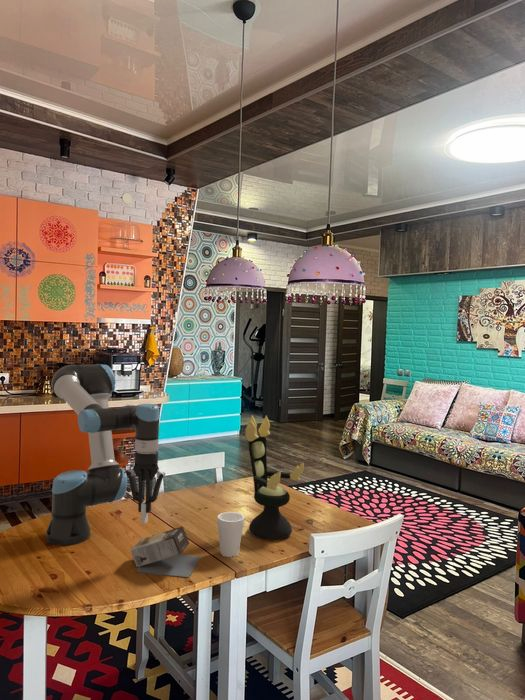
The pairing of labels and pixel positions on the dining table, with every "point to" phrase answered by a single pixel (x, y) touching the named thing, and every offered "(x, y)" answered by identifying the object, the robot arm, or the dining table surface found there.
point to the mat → (172, 566)
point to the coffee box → (160, 546)
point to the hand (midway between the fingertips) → (144, 521)
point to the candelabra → (268, 486)
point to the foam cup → (230, 532)
